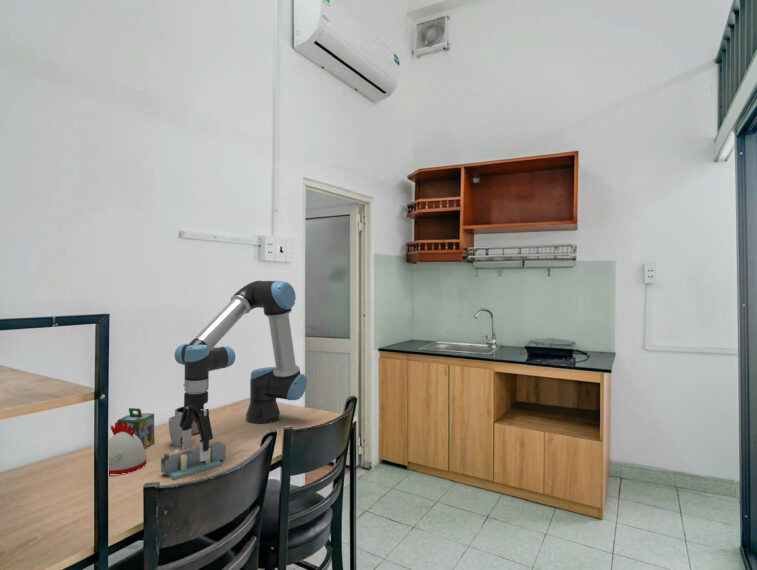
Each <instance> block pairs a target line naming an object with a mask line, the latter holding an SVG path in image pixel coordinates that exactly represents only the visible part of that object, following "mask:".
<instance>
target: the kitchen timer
mask: <svg viewBox="0 0 757 570" xmlns="http://www.w3.org/2000/svg"><path fill="white" fill-rule="evenodd" d="M131 427H132V425H131V426H129V428H128V425H127V422H125V424H124V427H123V422H121V423H120V427H119V426H118V423H117V421H116V422H114V426H113V425H110V430H111V431H112V432H111V433H112V434H113V436H111V438H110V439H108V441H109V475H108V476H111V475H110V474H122V473H127V474H129V473H128V472H131V473H134V472H137V471H139V470H141V469H142V468H144V467H145V466H146V465H145V464H147V454H146V450H145V448H144V447H143V444H142V442H141V440H140V439H139V438H138V437H137V436H136V435H135V434H134V433H135V430H136V429H134V430H133V431H132V432H131ZM143 466H144V467H143ZM138 469H139V470H138ZM136 470H137V471H136ZM133 471H134V472H133ZM122 475H123V474H122Z"/></svg>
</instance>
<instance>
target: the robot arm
mask: <svg viewBox="0 0 757 570" xmlns="http://www.w3.org/2000/svg"><path fill="white" fill-rule="evenodd" d="M296 300H297V297H296V291H295V288H294V287H293V285H291V283H289V282H288V281H281V280H255V281H252V282H250V283H248V284H246V285H245V286H243V287H242V288H240V289H239V290H238V291H236V293H234V294H233V296H231V298H230V302H229V303H227V304H226V306H225V307H223V308H222V310H221V311H220V312H219V313H218V314H217V315H216V316H214V318H213V319H212V320H211V321H209V323H208V324H207V325H206V326H205V327H204V328H203V329H201V331H200V332H199V333H198V334H197V335H196V336H195V337H194V338H193V339H192V340H191V341H190V342H189V343H188V344H187V343H185V344H181V345H179V346H177V348H176V349H175V351H174V359H175V362H176V363H177V364H180V365H183V366H184V382H183V386H184V387H183V388H184V394H183V407H184V410H183V414H182V418H181V422H180V427H182V430H183V445H182V446H181V447H182V450H183V451H185V450H186V451H187V450H191V449H192V435H191V429H190V428H191V427H192V426H191V425H192V423H193V421H194V422H195V423H197V426H198V430H199V433H198V434H199V436H200V439H199V444H200V461H205V460H208V459H209V444H210V441H211V440H213V439H214V436H213V430H212V426H211V419H210V410H209V408H206V409H205V406H204V405H206V404H207V403H208V402H209V384H210V382H209V381H210V380H209V373H210V372H212V371H215V370H220V369H225V368H226V369H227V368H228V367H231V366H232V365H234V363H235V361H236V352H235V350H234V349H233V348H232V347H230V346H220V347H216V345H217V344H218V343H219V342H220V341H221V340H222V339H223V338H224V336H226V334H227V333H228V332H229V331H230V330H231V329H232V328H233V326H235V325H236V324H237V323H238V321H239V320H240V319H241V318H242V317H243V316H244V315H247V314H249V313H250V312H251V311H252V310H254V309H257V308H260V309H263V313H264V314H263V315H265V317H267V318H268V323H269V329H270V335H271V343H272V344H271V345H272V351H273V356H274V363H275V366H269V367H260V368H256V369H253V370H252V371H251V373H250V379H249V381H250V392H249V393H250V394H249V395H250V399H249V405H248V408H247V410H246V413H245V421H247V422H248V423H252V424H267V423H266V422H269V423H271V422H270V421H274V420H276V419H278V418H279V417H281V413H280V409H279V405H278V403H277V399H281V400H287V401H298V400H300V399H301V398H302V397H303V396H304V394H305V392H306V390H307V387H308V380H307V376H306V375H305V374H304V373H301V368H300V366H299V365H297V364H296V358H295V350H294V345H293V344H294V343H293V336H292V329H291V323H290V322H291V321H290V314H291V312H292V310H293V309H292V308H293V307H294V306H295V305H296V302H295V301H296ZM279 419H280V418H279ZM279 419H278V420H279ZM276 421H277V420H276ZM183 422H184V423H183ZM274 422H275V421H274Z"/></svg>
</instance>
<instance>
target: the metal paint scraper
mask: <svg viewBox="0 0 757 570" xmlns="http://www.w3.org/2000/svg"><path fill="white" fill-rule="evenodd" d="M209 448H210V449H211V457H210V461H211V462H214V461H218V460H219V461H220V460H224V459H226V452H227V451H226V448H227V445H226V444H224V443H222V442H221V441H216V442H213V443H212V442H211V443H209ZM184 454H186V455H187V468H189V467H193V466H196V465H200V464H203V463H205V461H200V448H198V447H197V448H194V449H188V450H186V451H185V450H184V451H183V452H181V451H180V453H178V454H174V453H173V454H169V453H164V454H163V456H162V457H161V458H160V459H161V461H160V462H161V463H160V464H161V465H160V472H161V473H162V474H164V475H167V474H168V473H172V472H175V471H179V470H181V455H184Z"/></svg>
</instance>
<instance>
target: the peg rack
mask: <svg viewBox="0 0 757 570" xmlns="http://www.w3.org/2000/svg"><path fill="white" fill-rule="evenodd" d="M197 448H200V443H198V444H197ZM178 453H181V449H175V450H173V455H174V454H178ZM210 457H211V449H210V448H209V459H208V460H205V463H203V464H200V465H196V466H193V467H189V468H187V455H186V454H184V455H181V470H179V471H175V472H172V473H168V474H166V475H167V476H168V477H169V478H170V479H172V481H175V480H177V479H181V478H184V477H188V476H191V475H194V474H199V473H200V472H205V471H207V470H211V469H215V468H218V467H220V466H223V462H222V461H220V460H218V461H214V462H211V461H210Z"/></svg>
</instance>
